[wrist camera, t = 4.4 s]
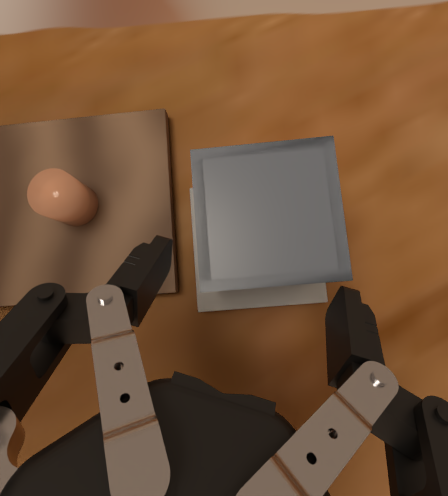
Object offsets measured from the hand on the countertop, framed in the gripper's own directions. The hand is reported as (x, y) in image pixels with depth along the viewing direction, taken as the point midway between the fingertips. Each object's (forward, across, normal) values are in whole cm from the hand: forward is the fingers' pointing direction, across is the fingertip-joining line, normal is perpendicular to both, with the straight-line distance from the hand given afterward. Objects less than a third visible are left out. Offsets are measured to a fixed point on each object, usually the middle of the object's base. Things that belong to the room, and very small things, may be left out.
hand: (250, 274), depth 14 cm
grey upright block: (+7, 0, +3) cm, 8 cm away
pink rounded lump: (+6, +14, +4) cm, 15 cm away
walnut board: (+7, +14, +4) cm, 16 cm away
